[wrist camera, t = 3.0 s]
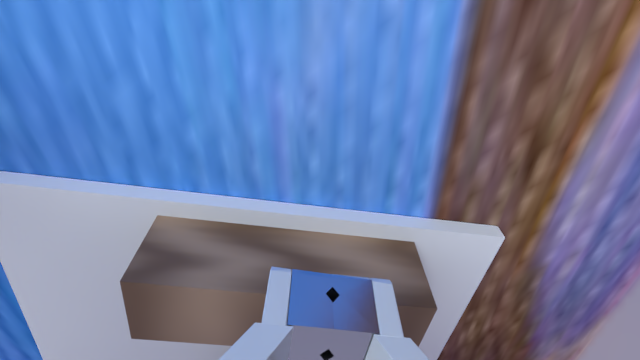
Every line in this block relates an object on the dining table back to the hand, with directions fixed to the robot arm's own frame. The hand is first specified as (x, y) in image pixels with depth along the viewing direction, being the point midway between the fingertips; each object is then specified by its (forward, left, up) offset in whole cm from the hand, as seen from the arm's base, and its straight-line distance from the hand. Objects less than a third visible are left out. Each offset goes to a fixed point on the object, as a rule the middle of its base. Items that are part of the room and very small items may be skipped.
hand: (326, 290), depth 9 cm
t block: (-1, -12, -9) cm, 15 cm away
